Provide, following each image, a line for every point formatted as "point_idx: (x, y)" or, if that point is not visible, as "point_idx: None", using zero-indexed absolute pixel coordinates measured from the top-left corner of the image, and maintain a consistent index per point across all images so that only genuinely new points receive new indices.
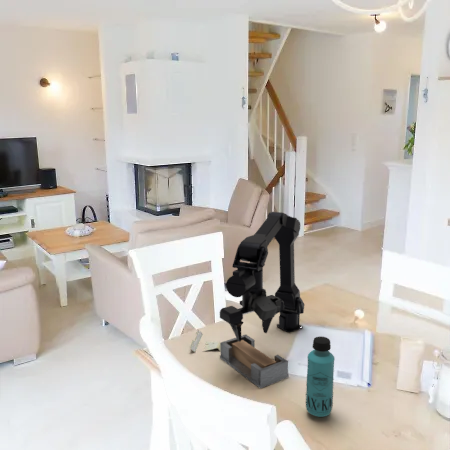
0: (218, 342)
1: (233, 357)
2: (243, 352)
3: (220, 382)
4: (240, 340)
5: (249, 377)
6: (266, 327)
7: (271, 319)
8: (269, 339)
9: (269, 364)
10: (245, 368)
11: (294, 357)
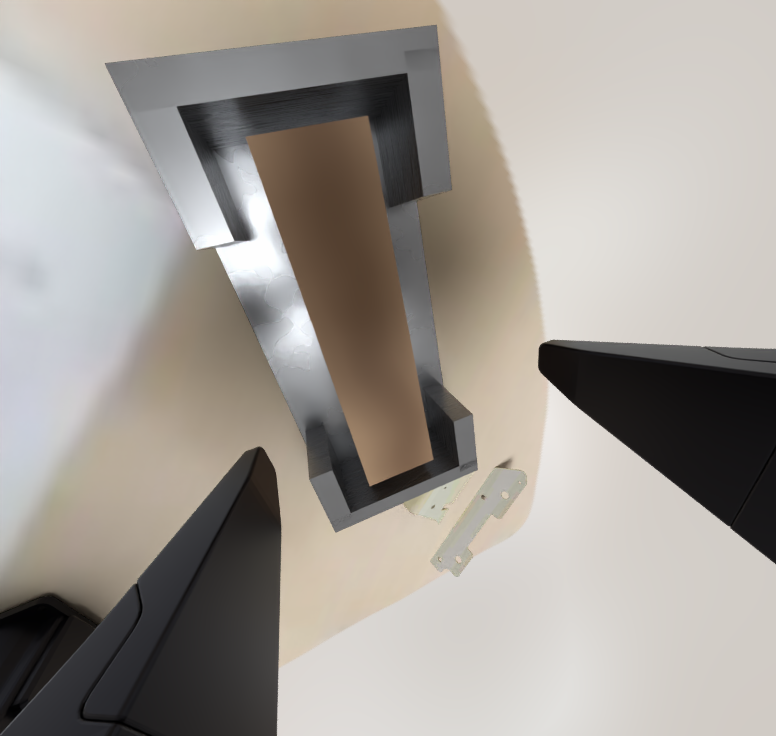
0: (420, 509)
1: None
2: (414, 370)
3: (520, 251)
4: (555, 342)
5: (415, 213)
6: (244, 496)
7: (69, 674)
8: None
9: (321, 124)
10: None
11: (59, 359)
